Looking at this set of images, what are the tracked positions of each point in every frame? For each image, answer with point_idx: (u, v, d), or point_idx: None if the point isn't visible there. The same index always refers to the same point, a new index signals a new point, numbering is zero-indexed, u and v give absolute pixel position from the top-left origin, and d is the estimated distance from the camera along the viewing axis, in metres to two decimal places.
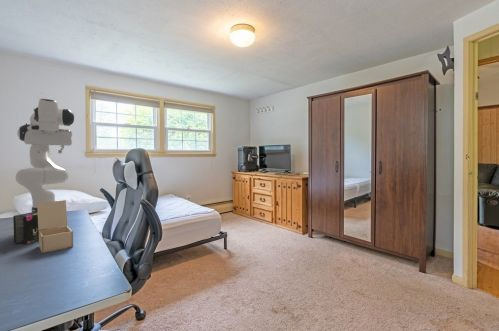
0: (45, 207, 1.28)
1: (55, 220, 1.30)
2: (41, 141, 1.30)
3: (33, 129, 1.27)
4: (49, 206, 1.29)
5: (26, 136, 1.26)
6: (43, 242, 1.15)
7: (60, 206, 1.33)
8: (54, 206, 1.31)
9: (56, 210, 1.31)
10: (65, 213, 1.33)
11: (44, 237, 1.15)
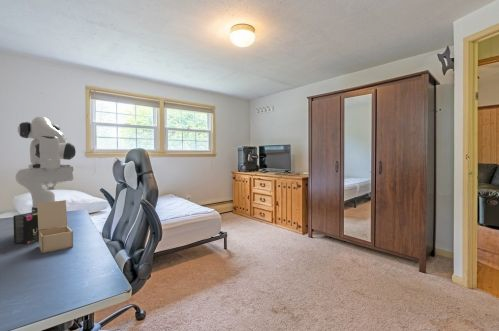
0: (45, 207, 1.28)
1: (55, 220, 1.30)
2: (42, 178, 1.29)
3: (34, 168, 1.26)
4: (49, 206, 1.29)
5: (27, 175, 1.25)
6: (43, 242, 1.15)
7: (60, 206, 1.33)
8: (54, 206, 1.31)
9: (56, 210, 1.31)
10: (65, 213, 1.33)
11: (44, 237, 1.15)
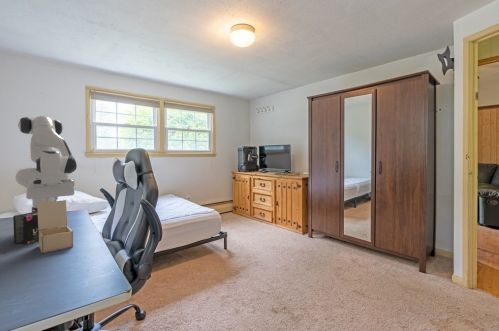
0: (45, 207, 1.28)
1: (55, 220, 1.30)
2: (43, 194, 1.28)
3: (35, 184, 1.25)
4: (49, 206, 1.29)
5: (28, 191, 1.23)
6: (43, 242, 1.15)
7: (60, 206, 1.32)
8: (54, 206, 1.31)
9: (56, 210, 1.31)
10: (65, 213, 1.33)
11: (44, 237, 1.15)
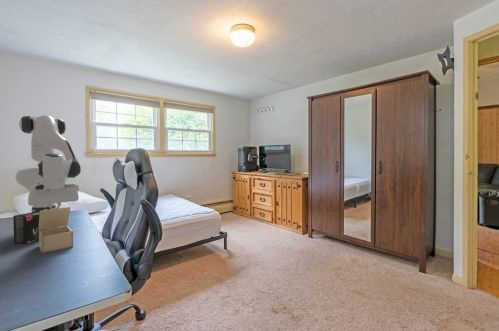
0: (48, 214, 1.21)
1: (56, 222, 1.27)
2: (46, 200, 1.20)
3: (37, 189, 1.17)
4: (52, 213, 1.22)
5: (30, 197, 1.16)
6: (43, 242, 1.15)
7: (64, 213, 1.26)
8: (57, 213, 1.24)
9: (58, 216, 1.25)
10: (67, 217, 1.29)
11: (44, 237, 1.15)
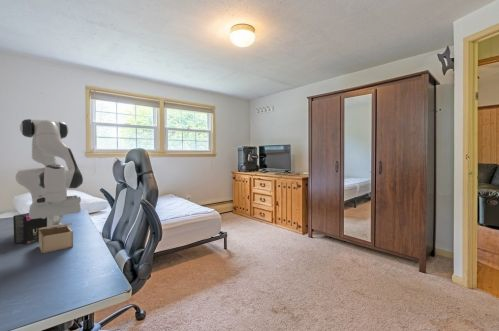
0: None
1: None
2: (47, 213, 1.17)
3: (39, 202, 1.14)
4: (54, 227, 1.20)
5: (31, 211, 1.13)
6: (43, 242, 1.15)
7: None
8: (58, 226, 1.21)
9: None
10: None
11: (44, 237, 1.15)
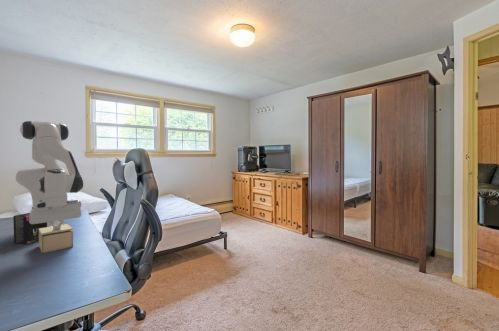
0: None
1: None
2: (48, 218, 1.16)
3: (39, 207, 1.13)
4: None
5: (31, 216, 1.12)
6: (43, 242, 1.15)
7: None
8: None
9: None
10: None
11: (44, 237, 1.15)
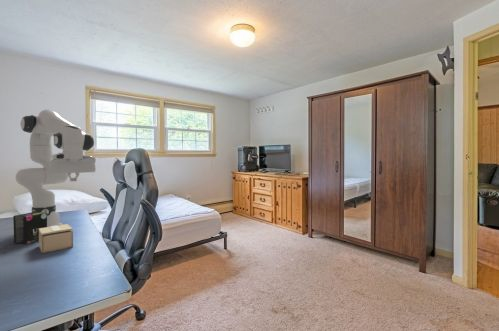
0: None
1: None
2: (65, 169, 1.27)
3: (58, 158, 1.23)
4: None
5: (51, 166, 1.22)
6: (43, 242, 1.15)
7: None
8: None
9: None
10: None
11: (44, 237, 1.15)
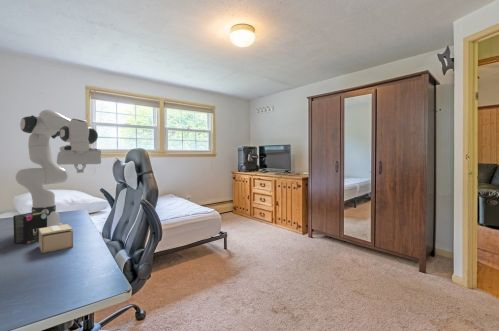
0: None
1: None
2: (73, 161, 1.31)
3: (66, 150, 1.28)
4: None
5: (59, 157, 1.27)
6: (43, 242, 1.15)
7: None
8: None
9: None
10: None
11: (44, 237, 1.15)
